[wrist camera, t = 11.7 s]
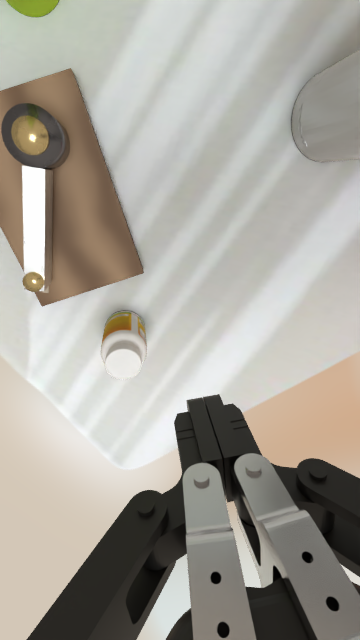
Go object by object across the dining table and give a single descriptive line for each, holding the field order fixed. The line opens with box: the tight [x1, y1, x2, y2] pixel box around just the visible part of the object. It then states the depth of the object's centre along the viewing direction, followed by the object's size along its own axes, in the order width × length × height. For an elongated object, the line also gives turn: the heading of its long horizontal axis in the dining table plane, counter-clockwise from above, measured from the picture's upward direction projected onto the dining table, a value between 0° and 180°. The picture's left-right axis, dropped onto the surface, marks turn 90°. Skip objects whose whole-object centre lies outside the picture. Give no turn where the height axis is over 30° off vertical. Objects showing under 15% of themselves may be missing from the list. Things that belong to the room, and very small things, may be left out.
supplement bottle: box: [101, 311, 147, 380], centre depth 39 cm, size 5×5×10 cm
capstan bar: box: [1, 103, 70, 292], centre depth 32 cm, size 17×5×5 cm, turn 170°
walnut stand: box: [0, 68, 143, 306], centre depth 36 cm, size 13×21×2 cm, turn 16°
